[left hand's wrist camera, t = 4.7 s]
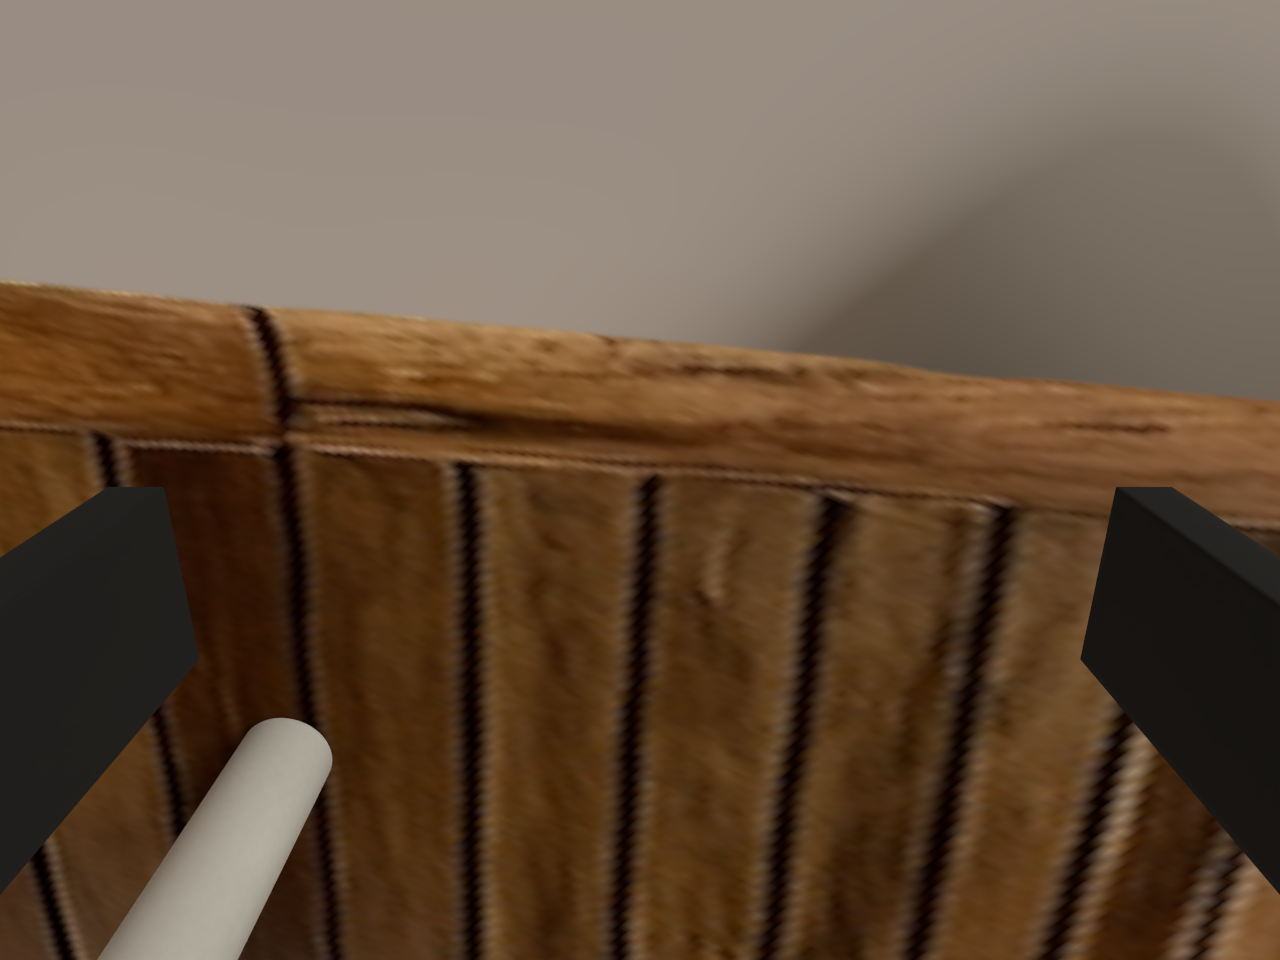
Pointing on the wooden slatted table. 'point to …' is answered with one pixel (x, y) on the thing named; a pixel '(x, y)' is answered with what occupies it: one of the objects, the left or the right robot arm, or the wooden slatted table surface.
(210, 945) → the bottle
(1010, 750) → the wooden slatted table surface
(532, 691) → the wooden slatted table surface
